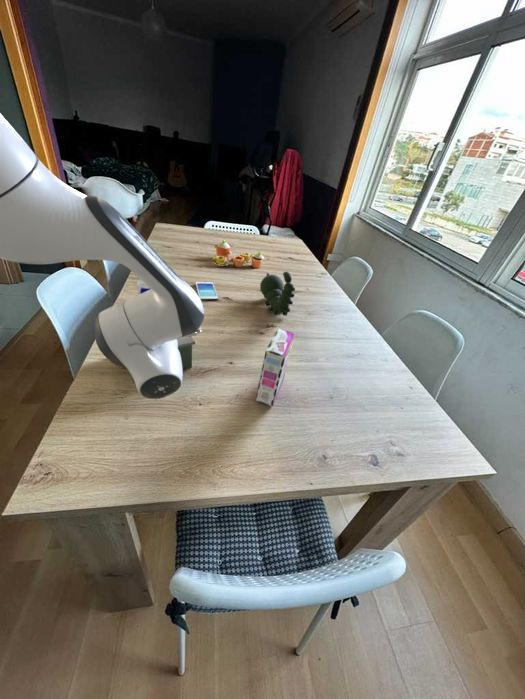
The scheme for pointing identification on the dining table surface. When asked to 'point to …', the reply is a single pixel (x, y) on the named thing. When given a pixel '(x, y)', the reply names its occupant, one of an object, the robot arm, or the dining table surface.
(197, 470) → the dining table surface
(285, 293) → the toy figurine
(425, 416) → the dining table surface
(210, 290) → the smartphone
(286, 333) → the candy bar box
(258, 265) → the toy tea set
